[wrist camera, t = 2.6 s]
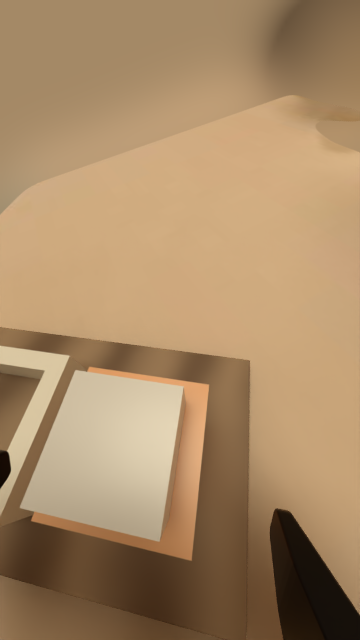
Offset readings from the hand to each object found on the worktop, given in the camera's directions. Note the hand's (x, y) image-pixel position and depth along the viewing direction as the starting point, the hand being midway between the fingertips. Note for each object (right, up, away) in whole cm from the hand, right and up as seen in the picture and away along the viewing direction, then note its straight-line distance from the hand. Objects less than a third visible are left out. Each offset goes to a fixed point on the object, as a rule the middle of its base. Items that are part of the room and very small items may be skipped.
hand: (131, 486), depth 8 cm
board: (-5, -3, +9) cm, 11 cm away
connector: (0, -3, +7) cm, 8 cm away
